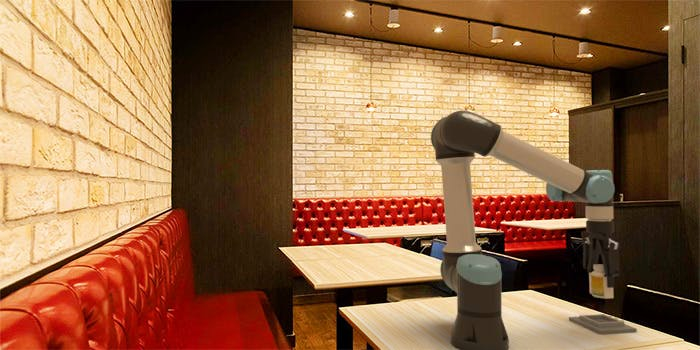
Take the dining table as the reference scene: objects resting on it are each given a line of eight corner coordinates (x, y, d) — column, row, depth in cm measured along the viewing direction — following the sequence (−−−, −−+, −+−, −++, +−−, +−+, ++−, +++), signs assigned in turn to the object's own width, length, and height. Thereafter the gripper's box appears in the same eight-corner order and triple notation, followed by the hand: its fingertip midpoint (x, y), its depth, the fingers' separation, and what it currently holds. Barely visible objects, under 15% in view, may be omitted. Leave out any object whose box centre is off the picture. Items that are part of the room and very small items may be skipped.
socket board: (600, 334, 131) (600, 326, 131) (569, 320, 145) (568, 313, 145) (636, 332, 134) (636, 324, 134) (602, 318, 147) (602, 311, 147)
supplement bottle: (597, 293, 143) (596, 263, 144) (615, 297, 139) (614, 265, 139) (588, 296, 140) (587, 264, 141) (605, 299, 136) (605, 267, 136)
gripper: (633, 222, 132) (635, 302, 131) (589, 217, 150) (591, 288, 149) (611, 222, 130) (612, 303, 130) (569, 218, 149) (570, 289, 148)
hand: (601, 295), depth 140 cm, fingers closed on supplement bottle, 5 cm apart
